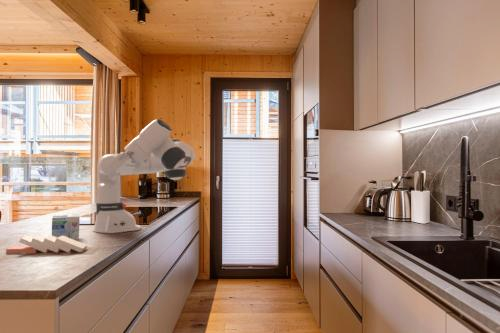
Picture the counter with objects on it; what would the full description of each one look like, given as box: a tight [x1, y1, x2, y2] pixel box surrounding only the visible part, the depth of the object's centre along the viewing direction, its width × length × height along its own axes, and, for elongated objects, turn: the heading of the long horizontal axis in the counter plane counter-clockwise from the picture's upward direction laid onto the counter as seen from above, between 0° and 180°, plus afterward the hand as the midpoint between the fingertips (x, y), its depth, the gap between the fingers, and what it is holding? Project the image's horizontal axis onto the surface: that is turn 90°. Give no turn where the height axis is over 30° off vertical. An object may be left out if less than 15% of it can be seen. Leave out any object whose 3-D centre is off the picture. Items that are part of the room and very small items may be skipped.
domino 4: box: [43, 234, 73, 253], centre depth 124 cm, size 2×5×10 cm
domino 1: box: [5, 245, 40, 255], centre depth 122 cm, size 2×5×10 cm
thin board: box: [22, 246, 102, 256], centre depth 124 cm, size 24×10×1 cm, turn 97°
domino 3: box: [31, 234, 61, 253], centre depth 123 cm, size 2×5×10 cm
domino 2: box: [18, 234, 50, 253], centre depth 123 cm, size 2×5×10 cm
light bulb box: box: [51, 213, 80, 240], centre depth 146 cm, size 11×7×11 cm, turn 117°
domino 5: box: [55, 235, 88, 252], centre depth 124 cm, size 2×5×10 cm
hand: (110, 178), depth 126 cm, fingers closed
